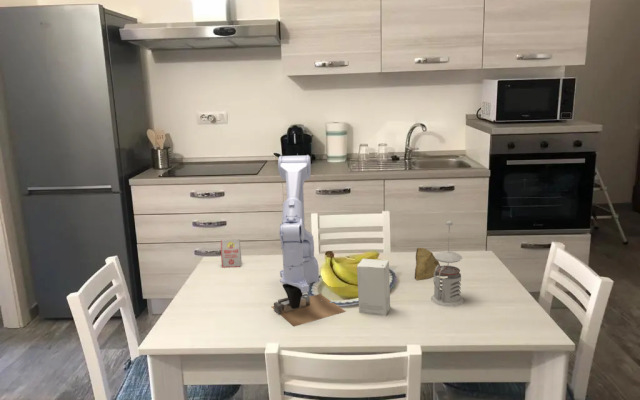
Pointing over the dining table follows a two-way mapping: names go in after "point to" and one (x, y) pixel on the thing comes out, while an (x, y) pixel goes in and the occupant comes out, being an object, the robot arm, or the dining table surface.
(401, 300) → the dining table surface
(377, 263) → the skincare box
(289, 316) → the lock board
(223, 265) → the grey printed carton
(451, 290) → the french press
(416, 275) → the rock
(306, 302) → the swing bar
